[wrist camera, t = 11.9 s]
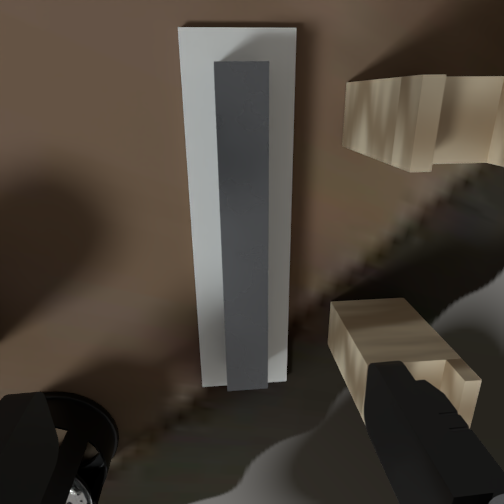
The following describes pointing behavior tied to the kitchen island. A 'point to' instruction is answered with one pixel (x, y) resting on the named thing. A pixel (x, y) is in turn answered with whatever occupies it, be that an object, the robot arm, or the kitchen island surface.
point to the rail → (244, 216)
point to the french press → (80, 449)
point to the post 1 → (426, 120)
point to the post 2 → (397, 350)
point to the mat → (207, 188)
